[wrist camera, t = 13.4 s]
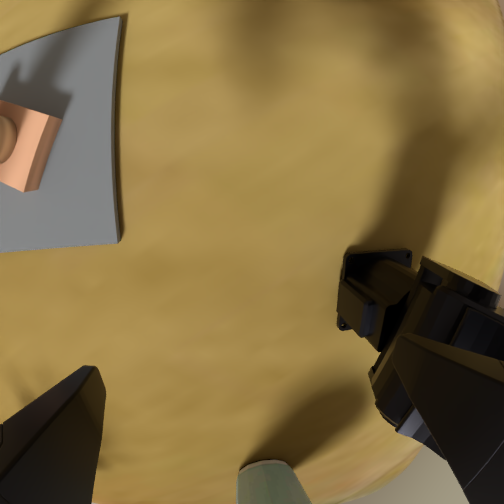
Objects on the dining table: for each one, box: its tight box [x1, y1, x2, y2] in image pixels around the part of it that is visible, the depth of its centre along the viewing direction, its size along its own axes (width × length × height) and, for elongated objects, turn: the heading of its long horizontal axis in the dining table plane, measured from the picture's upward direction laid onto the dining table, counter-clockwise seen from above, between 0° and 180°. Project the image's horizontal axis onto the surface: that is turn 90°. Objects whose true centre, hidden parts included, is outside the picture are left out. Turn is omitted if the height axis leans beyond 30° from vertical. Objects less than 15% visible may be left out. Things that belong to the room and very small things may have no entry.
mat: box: [0, 17, 122, 253], centre depth 15 cm, size 16×16×1 cm
